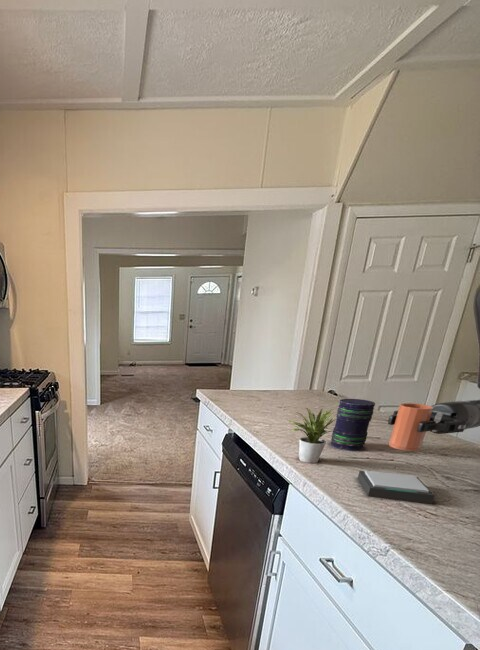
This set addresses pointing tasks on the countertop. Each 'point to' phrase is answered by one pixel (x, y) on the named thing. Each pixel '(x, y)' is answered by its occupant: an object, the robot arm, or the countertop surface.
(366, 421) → the storage jar
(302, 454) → the house plant
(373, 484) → the scale
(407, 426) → the cup
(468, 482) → the countertop surface
